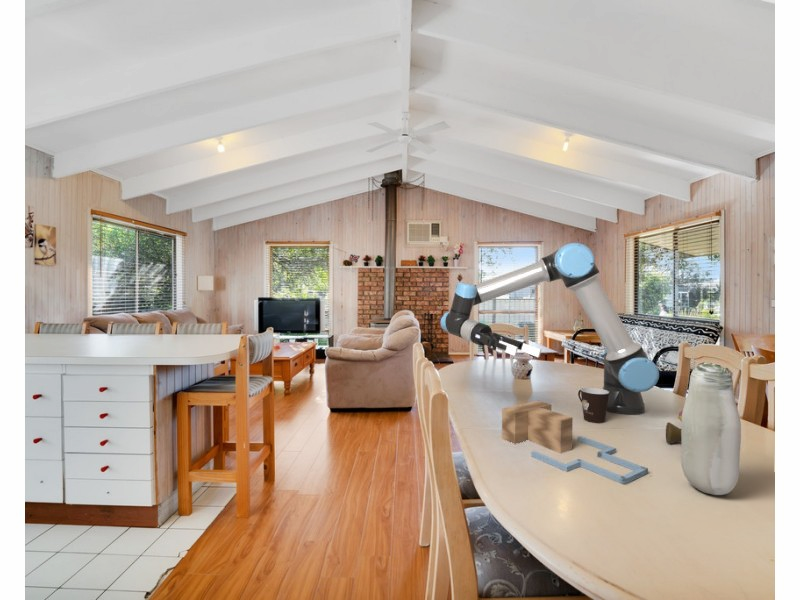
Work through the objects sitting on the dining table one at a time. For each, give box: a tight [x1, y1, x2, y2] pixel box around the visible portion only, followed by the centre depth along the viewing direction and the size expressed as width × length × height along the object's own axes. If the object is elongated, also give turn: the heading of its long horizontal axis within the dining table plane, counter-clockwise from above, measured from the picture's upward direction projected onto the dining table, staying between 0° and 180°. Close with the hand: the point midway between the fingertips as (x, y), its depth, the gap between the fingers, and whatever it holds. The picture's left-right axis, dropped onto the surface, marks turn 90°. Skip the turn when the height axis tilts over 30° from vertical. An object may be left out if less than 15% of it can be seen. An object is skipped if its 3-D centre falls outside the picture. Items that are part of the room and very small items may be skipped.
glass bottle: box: [680, 363, 742, 496], centre depth 89 cm, size 10×10×28 cm
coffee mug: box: [577, 387, 609, 424], centre depth 138 cm, size 12×9×10 cm
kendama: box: [665, 421, 682, 445], centre depth 112 cm, size 6×10×20 cm
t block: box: [501, 400, 574, 454], centre depth 117 cm, size 16×16×9 cm
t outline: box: [530, 435, 649, 485], centre depth 104 cm, size 22×21×1 cm
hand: (528, 352), depth 126 cm, fingers open, 13 cm apart
